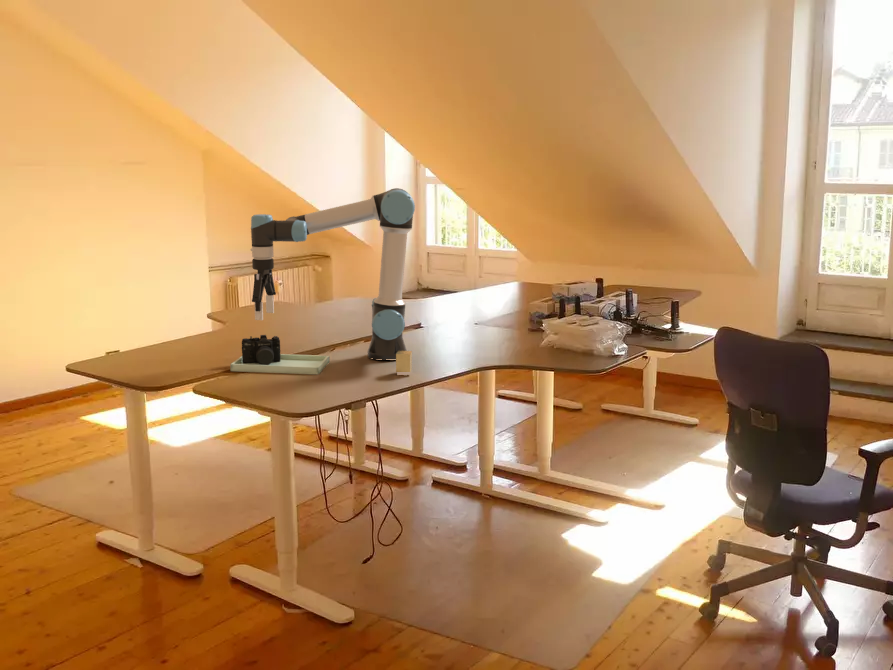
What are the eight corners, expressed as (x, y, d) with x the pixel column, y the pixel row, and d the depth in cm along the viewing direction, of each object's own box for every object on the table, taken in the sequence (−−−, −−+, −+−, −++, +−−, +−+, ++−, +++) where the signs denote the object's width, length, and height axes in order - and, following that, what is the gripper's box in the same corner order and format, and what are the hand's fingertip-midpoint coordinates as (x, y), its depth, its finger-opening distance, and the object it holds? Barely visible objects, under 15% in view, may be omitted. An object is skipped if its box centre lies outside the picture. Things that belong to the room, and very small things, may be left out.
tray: (246, 359, 334) (246, 352, 333) (329, 362, 331) (329, 355, 330) (230, 371, 316) (230, 364, 315) (318, 374, 313) (318, 367, 313)
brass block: (398, 372, 318) (398, 350, 316) (411, 372, 318) (412, 351, 316) (396, 375, 313) (396, 353, 312) (410, 376, 313) (410, 354, 311)
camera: (242, 368, 317) (241, 341, 315) (242, 361, 327) (241, 334, 325) (281, 366, 320) (280, 339, 318) (280, 359, 330) (279, 333, 328)
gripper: (262, 253, 328) (264, 309, 332) (241, 262, 304) (243, 322, 308) (282, 254, 327) (284, 310, 332) (262, 262, 303) (264, 323, 307)
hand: (264, 316), depth 320 cm, fingers open, 13 cm apart
